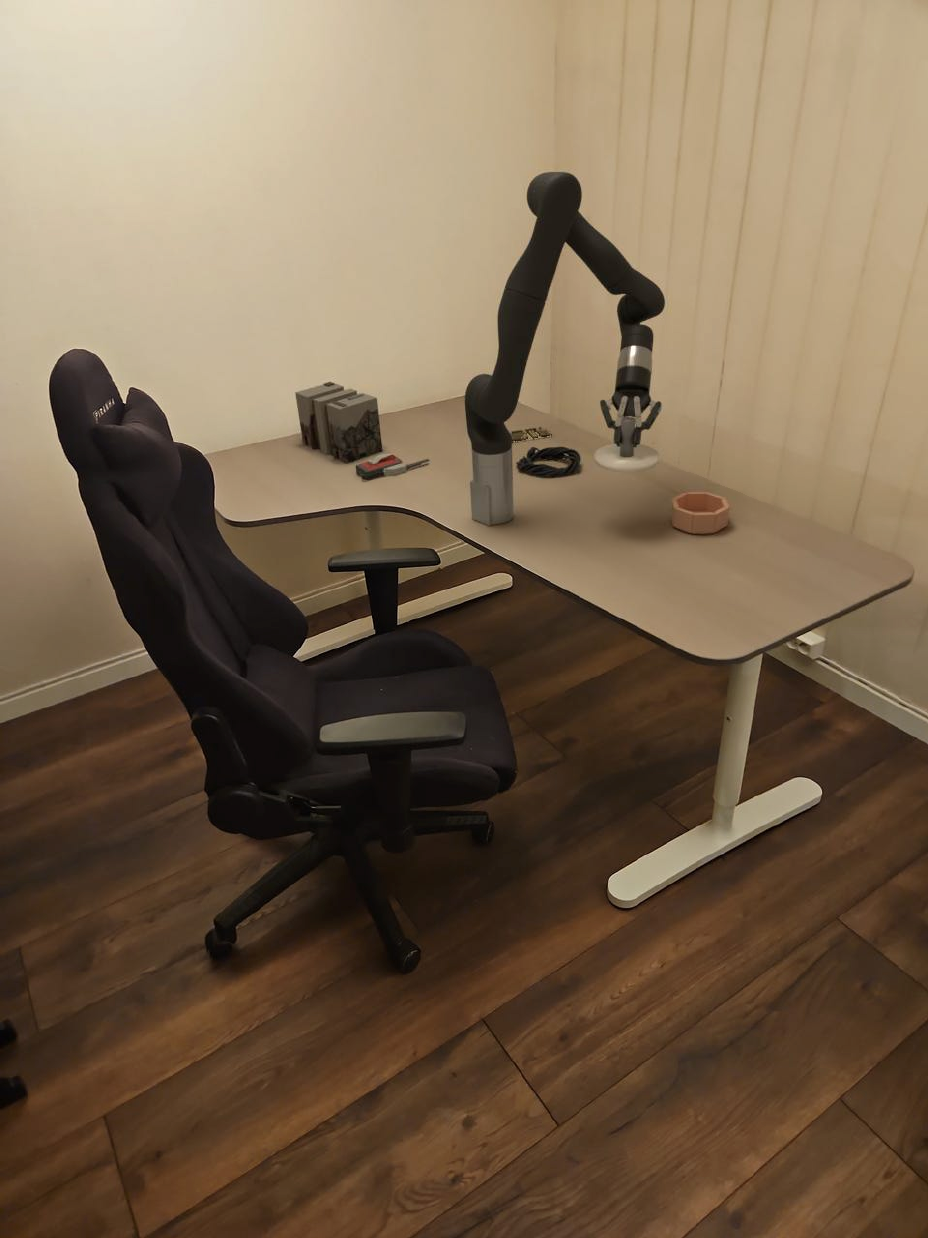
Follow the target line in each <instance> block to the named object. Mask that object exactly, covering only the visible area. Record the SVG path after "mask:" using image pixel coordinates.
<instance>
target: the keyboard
mask: <svg viewBox="0 0 928 1238" xmlns="http://www.w3.org/2000/svg"><path fill="white" fill-rule="evenodd" d="M538 428H539V429H540V428H541V429H540V430H539V429H537V427H531V428H525V429H524V431H523V429H517V430H511V432H510V434H511V437H512V444H514V442H513V441H515V442H516V441H517V442H516V443H519V442H518V441H522V440H526V439H528V436H527V433H528V434H529V435H530V436H531V437H532V438H533V439H534V438H538V435H537V434H536V433H535V432H537V433H538V434H539V436H541V437H547V436H550V435H551V436H552V434H553V433H552V432H551V431H550V430H549V428H548V427H547V428H544V429H545V430H544V429H542V427H540V426H539V427H538Z"/></svg>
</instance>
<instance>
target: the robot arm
mask: <svg viewBox="0 0 928 1238" xmlns="http://www.w3.org/2000/svg"><path fill="white" fill-rule="evenodd" d="M582 198H583V191H582V186H581V183H580V181H579V179H578V178H577V177H576V176H575V175H574V174H572V173H570V172H565V171H547V172H542V173H539V174H538V175H536V176H535V177H534V178H533V179H532V180H531V181H530V183H529V185H528V187H527V191H526V201H527V202H526V203H527V206H528V209H529V210H530V211H531V213H532V214H533V215H534V216H535V217H536V220H535V223H534V227H533V229H532V230H533V231H532V234H531V237H530V239H529V242H528V244H527V245H526V248H525V249H524V251H523V253H522V254H521V256H520V258H519V259H518V261H517V262H516V264H515V266H514V267H513V268H512V270H511V272H510V273H509V276H508V278H507V280H506V283H505V285H504V289H503V292H502V295H501V298H500V303H499V306H498V310H497V317H496V318H497V321H496V323H497V340H498V351H497V358H496V361H495V364H494V369H493V372H492V374H489V373H481V374H478V375H475V376H474V377H473V378H472V379H471V380H470V381H469V383H468V385H467V387H466V389H465V392H464V393H465V394H464V411H465V412H464V413H465V421H466V422H465V423H466V431H467V435H468V438H469V440H470V443H471V444H470V445H471V460H472V461H471V463H472V465H471V466H472V480H470V482H469V487H470V488H469V489H470V491H469V492H470V493H469V494H470V509H471V519H473V520H474V521H477V522H479V523H481V524H483V525H486V526H488V527H489V526H492V525H498V524H504V523H507V522H509V521H511V520H512V519H513V518H514V515H515V514H514V513H515V511H514V510H515V509H514V508H515V507H514V481H513V480H514V476H513V475H514V474H513V473H514V472H513V470H514V469H513V466H514V465H513V443H512V437H511V432H510V431H509V430H508V428H507V426H506V424H505V422H507V421H508V420H509V419H510V418H511V417H512V416H513V414H514V413H515V411H516V408H517V405H518V402H519V398H520V396H521V395H520V394H521V390H522V387H523V386H522V385H523V380H524V376H525V375H524V374H525V371H526V367H527V364H528V360H529V357H530V353H531V349H532V348H533V347H532V346H533V343H534V340H535V336H536V332H537V329H538V326H539V324H540V321H541V318H542V315H543V312H544V310H545V306H546V302H547V300H548V296H549V291H550V289H551V286H552V283H553V280H554V277H555V273H556V271H557V267H558V263H559V261H560V257H561V255H562V251H563V249H564V247H565V243H566V245H568V246H569V248H570V249H571V250H572V251H573V252H574V253H575V254H576V255H577V256H578V257H579V259H580V260H581V261H582V262H583V263H584V265H586V267H587V268H588V269H589V270H590V272H591V273H592V274H593V276H594V277H595V278H596V279H597V281H598V282H599V283H600V284H601V285H602V286H603V287H604V288H605V290H606V291H607V292H608V293H609V294H611V295H614V296H618V295H620V296H621V295H622V297H621V298H620V299H619V301H618V304H617V305H616V307H617V308H616V312H617V313H616V315H617V319H618V323H619V330H620V331H619V332H620V336H621V338H620V339H621V340H620V349H619V350H620V351H619V356H618V359H617V364H616V365H617V367H616V376H615V386H614V393H613V394H612V396H611V398H609V399H607V400H605V399H601V400H599V401H600V402H599V405H600V410H601V412H602V415H603V417H604V421H605V423H606V426H607V428H608V429H613V430H614V431H613V444H617V447H620V442H621V419H622V418H625V417H632V418H635V419H636V420H635V430H634V441H633V447H637V445H639V444H641V439H642V437H641V436H642V432H643V431H644V430H647V431H648V430H650V429H651V428H652V426H653V424H654V423H655V421H656V419H657V417H658V416H659V414H660V412H661V411H662V402H661V401H659V400H658V401H654V400H653V399H652V398H651V397H652V396H650V392H651V391H650V390H651V380H652V373H653V350H654V349H653V347H654V337H655V336H654V332H653V329H652V328H651V327H650V326H649V325H646V324H641V323H643V322H646V321H648V320H651V319H653V318H655V317H657V316H660V315H661V314H662V313H663V311H664V310H665V306H666V299H665V296H664V293H663V291H662V289H661V288H660V287H659V286H658V285H657V284H656V283H655V282H654V281H653V280H651V279H650V278H648V277H647V276H645V275H644V274H642V273H641V272H640V271H638V270H637V269H635V268H633V266H632V265H631V264H630V262H629V261H628V260H627V258H625V256H624V255H623V254H622V252H621V251H620V250H619V249H618V248H617V247H616V245H614V243H612V241H610V240H609V239H608V238H607V237H605V235H603V234H602V232H600V231H598V229H596V228H595V227H594V226H593V225H592V224H591V223H589V221H588V220H587V219H586V218H585V217H584V216H583V214H582V213H580V211H579V210H580V209H581V204H582ZM612 406H613V407H614V408H615V409H616V411H617V415H616V419H615V420H613V418H612V415H611V412H610V411H611V409H612ZM649 406H650V407H649ZM648 407H649V411H650V412H649V414H648V416H647V417H646V419H645V420H644V421H642V414H643V413H644V412H645V411H646V410H647V409H648Z"/></svg>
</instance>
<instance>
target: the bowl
mask: <svg viewBox="0 0 928 1238" xmlns="http://www.w3.org/2000/svg"><path fill="white" fill-rule="evenodd" d="M670 501H671V503H670V504H671V505H670V515H669V518H670V521H671V525H672V527H673V528H676V529H678V530H680V531H682V532H685V533H689V534H692V535H693V534H694V535H707V534H714V533H717V532H718V531H721V530H722V529H724V528H726V527H727V526H728V524H729V513H730V505H729V503H728V501H727V498H726V497H724V496H721V495H718V494H715V493H712V492H709V491H693V492H692V491H690V492H689V491H688V492H687V491H686V492H683V493H681V494H679V495H677V496H675V497H672V498H671V500H670Z"/></svg>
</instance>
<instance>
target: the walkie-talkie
mask: <svg viewBox="0 0 928 1238" xmlns="http://www.w3.org/2000/svg"><path fill="white" fill-rule="evenodd" d="M427 462H430V459H429V458H426V459H422V460H419V461H416V462H412V463H409V464H408V463H407V464H404V463H403V460H402V459H401V458H399V457H398V456H395V454H392V453H391V452H387V453H386V452H385V453H384V454H383V453H382V454H380V455H379V454H378V455H376V457H375V458H374V459H367V461H365V462H362V463H359V464H356V465H355V472H356V475H357V476H358V477H360V478H361V480H365V481H371V480H373V479H378V478H381V477H394V476H397V475H401V474H406V473H407V470H409V469H412V468H415V467H418V466H421V465H422V464H425V463H427ZM405 472H406V473H405Z"/></svg>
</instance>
